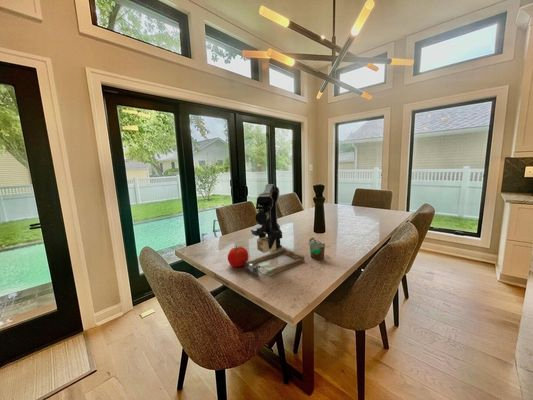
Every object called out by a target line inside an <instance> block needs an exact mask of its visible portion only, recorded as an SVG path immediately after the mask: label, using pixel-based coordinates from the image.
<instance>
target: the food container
mask: <svg viewBox="0 0 533 400" xmlns="http://www.w3.org/2000/svg"><path fill="white" fill-rule="evenodd" d="M307 244H308V245H309V251H310V252H309V253H310V258H311V259H314V260H316V261H317V260H318V261H323V260H325V249H326V243H325V242H324V243H322V242H321V241H320V240H317V239H315V238H314V237H310V238H309V240H308V243H307Z"/></svg>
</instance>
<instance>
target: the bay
mask: <svg viewBox="0 0 533 400" xmlns="http://www.w3.org/2000/svg"><path fill="white" fill-rule="evenodd" d="M280 248H281V249H280V250H277V251H274V252H273V251H272V252H271V253H268V254H265V255H262V256H258V257H256V258H253V259H250V260H249V262H250V263H252V264H253V265H255V264H256V265H258V266H260V268H263V269H264V270H266V272H264V271H262V270H260V269H259V270H258V272H259V273H262V274H263V275H264V276H265V275H267V276H268V277H271V276H273V275H276V274H278V273H280V272H283V271H285V270H288V269H290V268H293V267H294V266H297V265H300V264H302V263H304V262H305V256H304V255H301V254H299V253H297V252H295V251H292V250H290V249H287V248H285V247H280ZM280 255H285V256H288V257H290V258H291V259H292V258H293V259H294V260H292V261H290V262H287V263H284V264H282V265H280V266H278V267H277V266H276V267H275V266H274V265H271V264H270V263H268V262H266V260H269V259H272V258H274V257H277V256H280Z"/></svg>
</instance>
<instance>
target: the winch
mask: <svg viewBox="0 0 533 400" xmlns="http://www.w3.org/2000/svg"><path fill="white" fill-rule="evenodd" d="M260 269H261V266H259V265H258V264H256V265H255V264H252V263H250V260H249V259H248V260H247V261H245V265H244V270H245V271H249V272H251V273H253V276H254V277H255V278H257V277H258V276H259V271H258V270H260Z"/></svg>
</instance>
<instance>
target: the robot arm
mask: <svg viewBox="0 0 533 400" xmlns="http://www.w3.org/2000/svg"><path fill="white" fill-rule="evenodd" d="M279 196H280V189H279V187H277V186H276V185H275V184H274V183H267V184H265V187H264V191H263V192H262V193H260V194H259V195H257V197H256V204H255V210H258V212H257V213H256V215H255V219H254V220H255V221H256V223H257V224H256V225H254V226H252V227H251V228H250V233H251V234H252V235H253V236H255V237H258V239H259V238H262V237H266V236H268V237H266V239H268V244H269V249H271V248H272V246H273V244H274V242H275V240H276V249H278V248H282V247H283V245H282V244H281V239H283V231H282V230H281V226H280V224H279V223H278V212H277V211H278V209H277V208H278V207H277V201H278V200H279Z"/></svg>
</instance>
